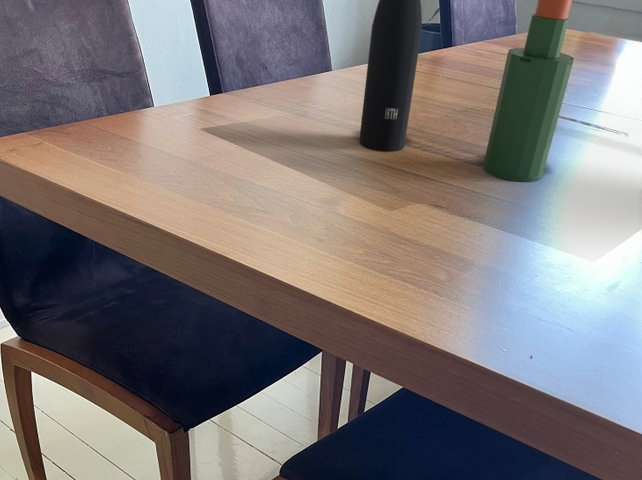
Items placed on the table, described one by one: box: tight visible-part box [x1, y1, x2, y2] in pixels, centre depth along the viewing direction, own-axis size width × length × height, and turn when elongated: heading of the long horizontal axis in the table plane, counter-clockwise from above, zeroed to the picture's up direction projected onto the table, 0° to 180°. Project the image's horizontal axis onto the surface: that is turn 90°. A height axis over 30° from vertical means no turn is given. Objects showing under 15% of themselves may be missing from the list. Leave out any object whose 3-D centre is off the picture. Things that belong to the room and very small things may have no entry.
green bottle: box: [482, 13, 575, 183], centre depth 92 cm, size 8×8×18 cm
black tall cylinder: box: [358, 0, 423, 152], centre depth 93 cm, size 6×6×30 cm
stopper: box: [534, 0, 573, 20], centre depth 86 cm, size 4×4×7 cm
